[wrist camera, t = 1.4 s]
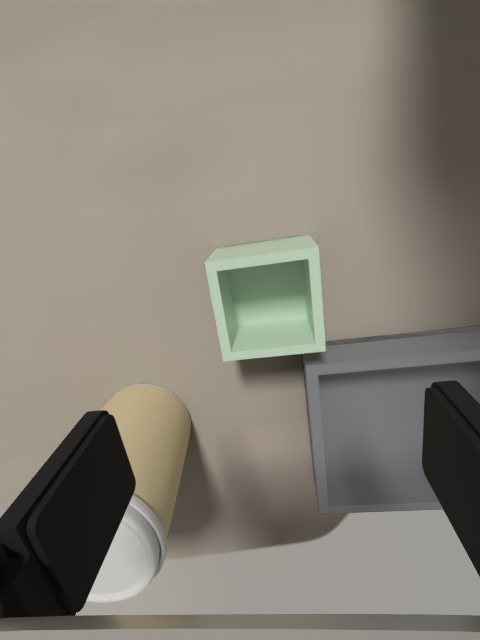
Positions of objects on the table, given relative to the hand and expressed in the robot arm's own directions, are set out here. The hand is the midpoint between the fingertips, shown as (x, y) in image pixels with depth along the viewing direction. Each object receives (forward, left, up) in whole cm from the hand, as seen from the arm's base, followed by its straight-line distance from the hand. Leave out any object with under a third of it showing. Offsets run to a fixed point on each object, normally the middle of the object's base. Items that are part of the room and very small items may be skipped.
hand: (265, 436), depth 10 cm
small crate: (0, 0, -16) cm, 16 cm away
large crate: (+12, +9, -16) cm, 22 cm away
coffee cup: (+11, -12, -16) cm, 23 cm away
